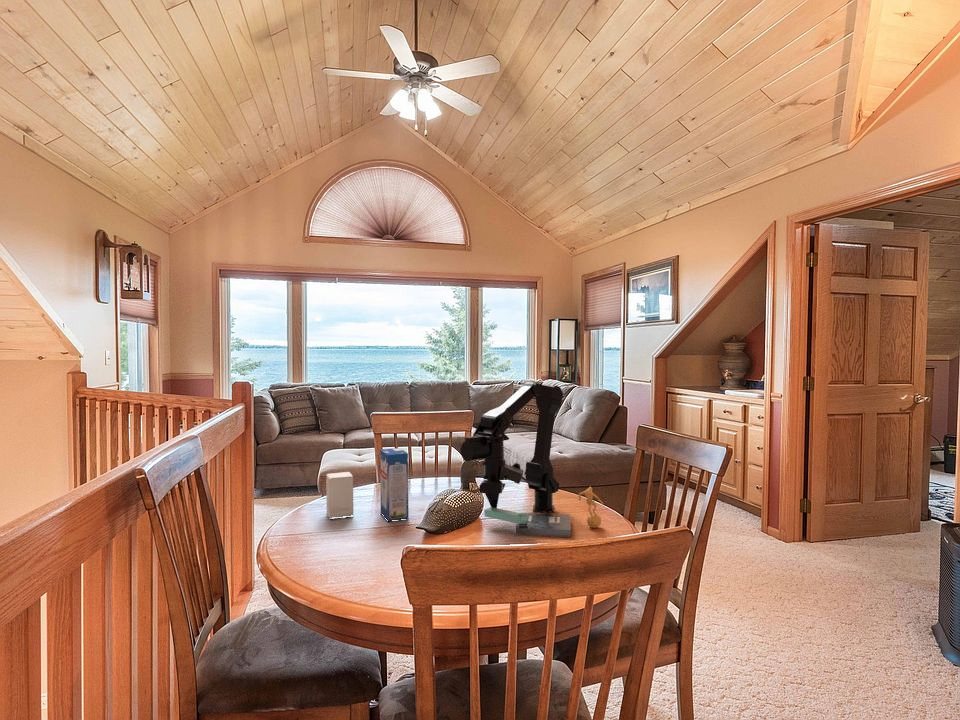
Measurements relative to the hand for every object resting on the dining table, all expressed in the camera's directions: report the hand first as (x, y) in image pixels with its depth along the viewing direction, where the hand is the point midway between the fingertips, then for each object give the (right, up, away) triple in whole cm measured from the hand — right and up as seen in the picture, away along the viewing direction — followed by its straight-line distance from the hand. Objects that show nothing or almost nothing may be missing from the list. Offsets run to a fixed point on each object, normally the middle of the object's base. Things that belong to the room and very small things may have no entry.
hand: (494, 510), depth 158 cm
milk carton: (-30, -4, +7) cm, 32 cm away
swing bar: (+3, -1, -6) cm, 7 cm away
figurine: (+28, -4, -5) cm, 28 cm away
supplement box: (-47, -4, +9) cm, 48 cm away
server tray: (+14, -4, -4) cm, 15 cm away
